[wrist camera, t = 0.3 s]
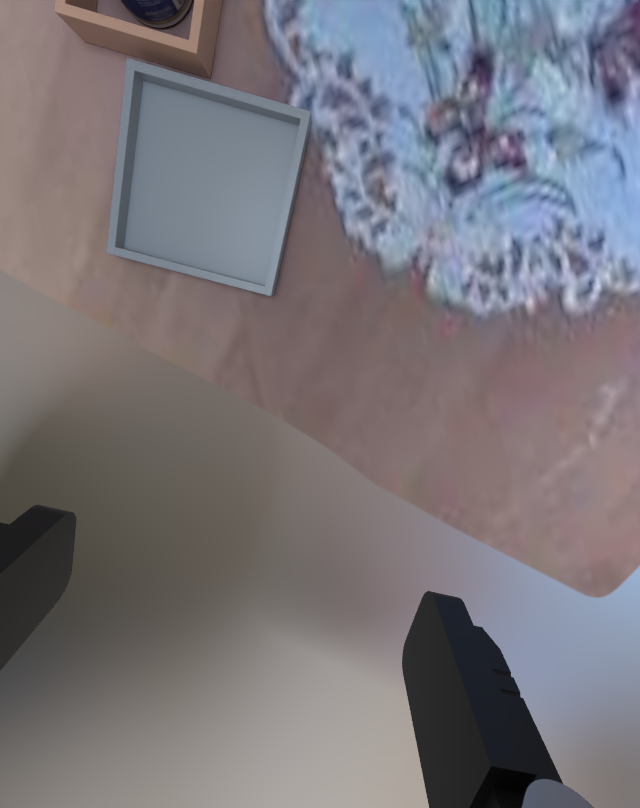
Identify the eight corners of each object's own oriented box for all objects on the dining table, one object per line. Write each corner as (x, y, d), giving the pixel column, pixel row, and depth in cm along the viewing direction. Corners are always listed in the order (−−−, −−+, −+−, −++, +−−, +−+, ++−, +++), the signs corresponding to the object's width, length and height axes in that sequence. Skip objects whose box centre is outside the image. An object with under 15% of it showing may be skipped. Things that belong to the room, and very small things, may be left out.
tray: (139, 72, 31) (126, 57, 29) (311, 122, 31) (310, 111, 29) (119, 254, 34) (106, 252, 32) (274, 295, 35) (270, 296, 33)
